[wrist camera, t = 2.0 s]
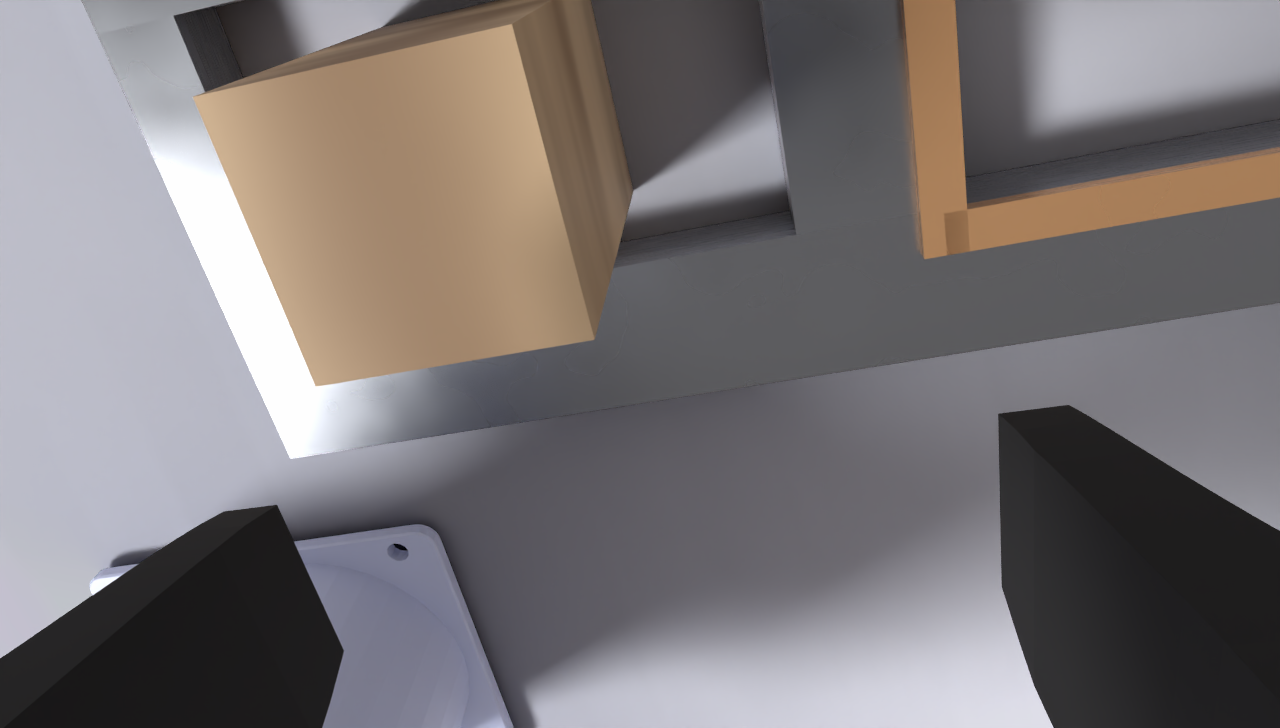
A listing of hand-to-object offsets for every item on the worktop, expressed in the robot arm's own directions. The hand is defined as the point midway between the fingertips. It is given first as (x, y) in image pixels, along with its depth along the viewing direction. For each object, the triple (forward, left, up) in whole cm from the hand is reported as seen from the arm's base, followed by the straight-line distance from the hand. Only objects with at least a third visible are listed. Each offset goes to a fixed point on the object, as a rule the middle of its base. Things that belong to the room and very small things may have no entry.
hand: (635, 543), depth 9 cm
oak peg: (-3, +3, -11) cm, 11 cm away
